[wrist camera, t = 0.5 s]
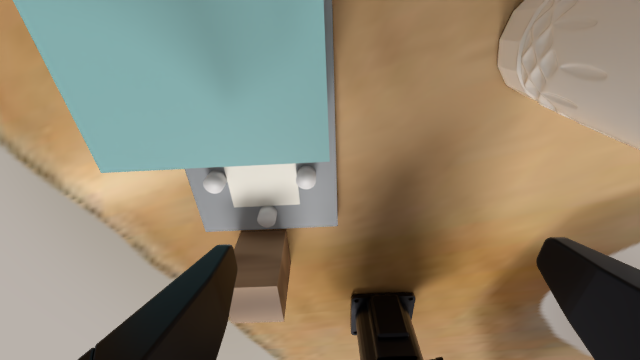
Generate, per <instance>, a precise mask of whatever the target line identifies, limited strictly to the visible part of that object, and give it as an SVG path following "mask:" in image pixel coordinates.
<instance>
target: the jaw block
mask: <svg viewBox="0 0 640 360" xmlns="http://www.w3.org/2000/svg"><path fill="white" fill-rule="evenodd" d="M234 253H235V257H236V262H237V267H238V271H237V277H236V282H235V287H234V292H233V297H232V302H231V307H230V312H229V316H230V319H231V322H232V323H255V322H282V321H284V316H285V308H286V299H287V291H288V282H289V273H290V265H291V260H290V253H289V246H288V239H287V232H286V230H263V231H241V233H240V236H239V238H238V241H237V244H236V246H235V249H234Z"/></svg>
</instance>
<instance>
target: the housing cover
mask: <svg viewBox="0 0 640 360" xmlns="http://www.w3.org/2000/svg"><path fill="white" fill-rule="evenodd" d="M13 2H14V3H15V5H16V7H17V9H18V11H19V13H20V15H21V17H22V19H23V21H24V23H25V25H26V27H27V29H28V31H29V33H30V35H31V37H32V39H33V41H34V43H35V44H36V46H37V48H38V50H39V52H40V54H41V56H42V58H43V60H44V62H45V64H46V66H47V68H48V70H49V72H50V74H51V76H52V78H53V80H54V82H55V84H56V86H57V87H58V89H59V91H60V93H61V95H62V97H63V99H64V101H65V103H66V105H67V107H68V109H69V111H70V113H71V115H72V117H73V119H74V121H75V123H76V125H77V127H78V129H79V130H80V132H81V134H82V136H83V138H84V140H85V142H86V144H87V146H88V148H89V150H90V152H91V154H92V156H93V158H94V160H95V162H96V164H97V166H98V168H99V170H100V172H101V173H107V172H128V171H149V170H169V169H190V168H210V167H231V166H251V165H272V164H292V163H313V162H330V157H329V131H328V104H327V78H326V51H325V24H324V0H13Z"/></svg>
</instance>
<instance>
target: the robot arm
mask: <svg viewBox="0 0 640 360" xmlns="http://www.w3.org/2000/svg"><path fill="white" fill-rule="evenodd" d="M536 262H537V267H538V269H539V270H540V272H541V274H542V276H543V278H544V279H545V281H546V283H547V285H548V286H549V288H550V290H551V292H552V293H553V295H554V297H555V299H556V300H557V302H558V304H559V306H560V308H561V309H562V311H563V313H564V314H565V316H566V318H567V319H568V321H569V323H570V324H571V325H572V327H573V329H574V330H575V331H576V333H577V334H578V336H579V337H580V338H581V340H582V342H583V343H584V345H585V346H586V348H587V349H588V350H589V352H590V353H591V355H592V356H593V358H594V359H595V360H640V270H639V269H637V268H634V267H632V266H630V265H627V264H625V263H623V262H620V261H618V260H616V259H614V258H611V257H609V256H607V255H605V254H602V253H600V252H598V251H595V250H593V249H591V248H589V247H586V246H584V245H582V244H579V243H577V242H575V241H572V240H570V239H568V238H565V237H550V238H548V239H546V240H545V242H544V244H543V246H542V248H541V250H540V252H539V254H538V257H537V260H536ZM237 271H238V267H237V262H236V257H235V253H234V249H233V247H232V245H217V246H215V247H214V248H213V249H212V250H210V251H209V252H208V253H207V254H206V255H204V256H203V257H202V258H201V259H199V260H198V261H197V262H196V263H195V264H193V265H192V266H191V267H190V268H189V269H187V270H186V271H185V272H184V273H182V274H181V275H180V276H179V277H178V278H176V279H175V280H174V281H173V282H171V283H170V284H169V285H168V286H167V287H165V288H164V289H163V290H162V291H161V292H159V293H158V294H157V295H156V296H154V297H153V298H152V299H151V300H150V301H148V302H147V303H146V304H145V305H144V306H142V307H141V308H140V309H139V310H137V311H136V312H135V313H134V314H133V315H132V316H130V317H129V318H128V319H127V320H125V321H124V322H123V323H122V324H121V325H119V326H118V327H117V328H116V329H114V330H113V331H112V332H111V333H110V334H108V335H107V336H106V337H105V338H104V339H102V340H101V341H100V342H99V343H97V344H96V346H95V348H91V349H90V350H89V351H88V352H86V353H85V354H84V355H83V356H81V357H80V358H79V359H78V360H216V358H217V355H218V352H219V349H220V346H221V342H222V339H223V336H224V333H225V329H226V326H227V322H228V317H229V312H230V307H231V302H232V297H233V292H234V287H235V282H236V277H237ZM414 303H415V296H414V294H413V293H410V292H409V293H383V294H357V295H353V296H352V297H351V334H352V335H357V337H358V345H359V353H360V360H423V357H422V354H421V351H420V347H419V344H418V341H417V338H416V335H415V331H414V328H413V325H412V322H411V319H412V314H413V309H414ZM431 360H443V358H442V357H438V358H436V359H431Z"/></svg>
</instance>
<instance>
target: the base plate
mask: <svg viewBox="0 0 640 360" xmlns="http://www.w3.org/2000/svg"><path fill="white" fill-rule="evenodd" d="M324 24H325V51H326V78H327V104H328V131H329V157H330V162H313V163H292V164H272V165H251V166H231V167H210V168H190V169H185V171H186V174H187V177H188V180H189V183H190V186H191V189H192V192H193V195H194V198H195V201H196V204H197V207H198V210H199V213H200V216H201V219H202V222H203V225H204V228H205V231H206V232H213V231H236V230H259V229H282V228H305V227H327V226H338V220H337V180H336V139H335V99H334V58H333V18H332V0H324Z"/></svg>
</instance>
